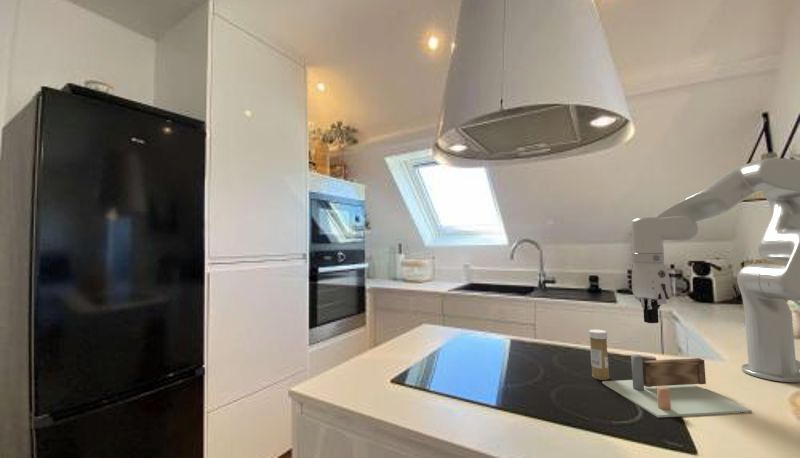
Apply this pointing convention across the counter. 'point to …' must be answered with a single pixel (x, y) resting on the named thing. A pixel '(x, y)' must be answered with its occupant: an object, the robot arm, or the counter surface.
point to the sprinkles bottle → (599, 354)
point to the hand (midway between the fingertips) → (651, 322)
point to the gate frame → (671, 396)
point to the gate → (673, 372)
